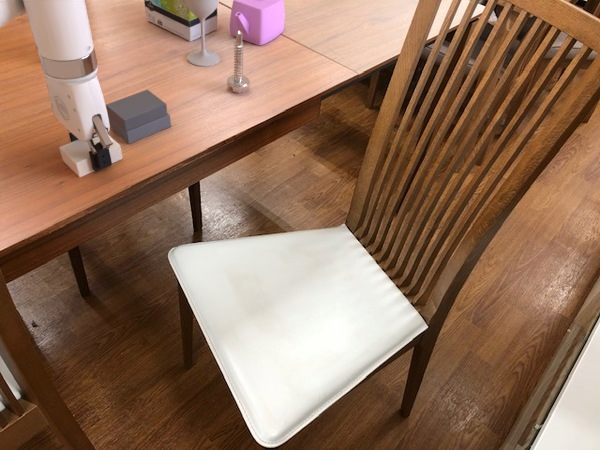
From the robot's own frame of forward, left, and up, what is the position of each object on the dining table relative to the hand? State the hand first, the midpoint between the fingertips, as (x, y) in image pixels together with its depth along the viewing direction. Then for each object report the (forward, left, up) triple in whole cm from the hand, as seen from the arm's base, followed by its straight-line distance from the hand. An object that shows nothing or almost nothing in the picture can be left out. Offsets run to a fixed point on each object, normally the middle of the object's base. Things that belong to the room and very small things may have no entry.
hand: (92, 157), depth 86 cm
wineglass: (+19, +36, -1) cm, 41 cm away
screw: (+26, +23, -1) cm, 35 cm away
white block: (0, 0, 0) cm, 0 cm away
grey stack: (+7, +10, 0) cm, 12 cm away
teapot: (+32, +49, -1) cm, 59 cm away
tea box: (+14, +52, -1) cm, 54 cm away
